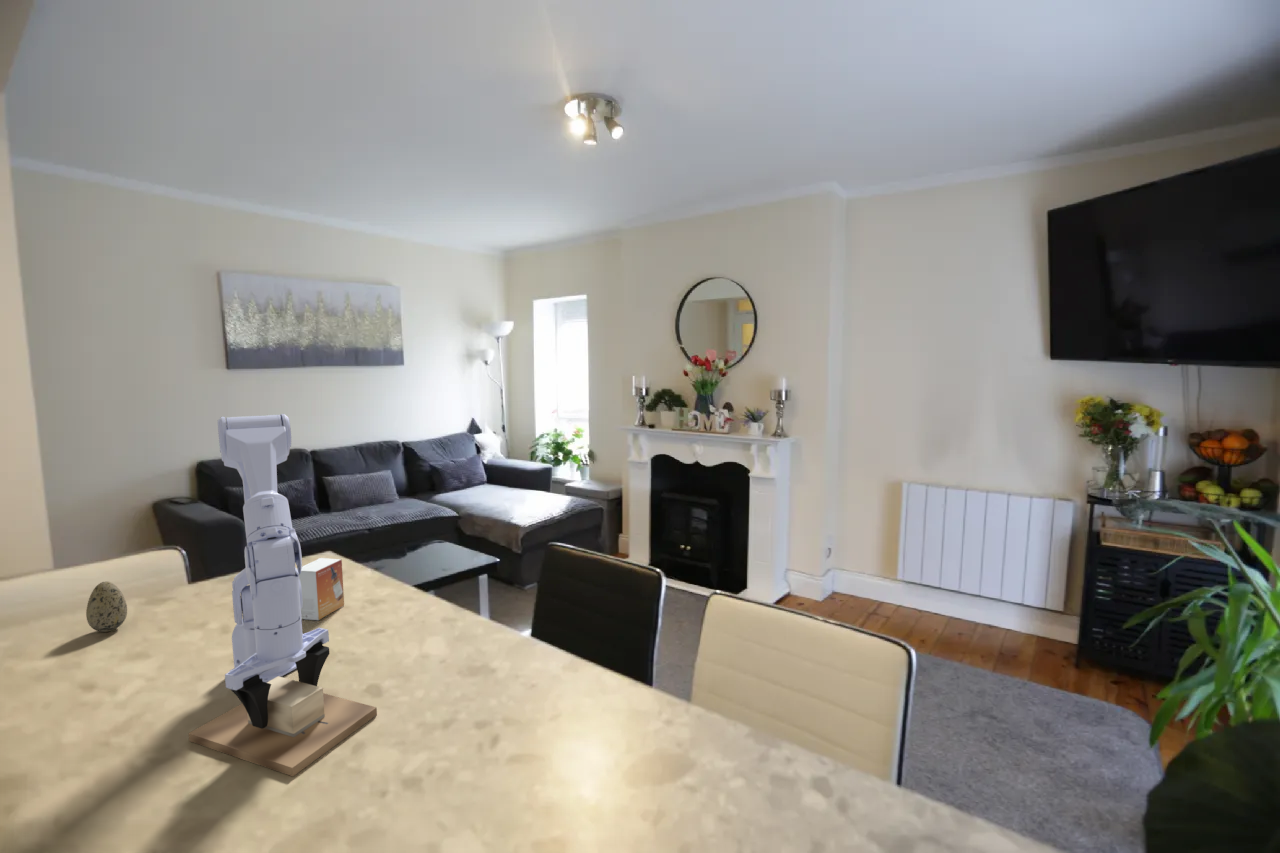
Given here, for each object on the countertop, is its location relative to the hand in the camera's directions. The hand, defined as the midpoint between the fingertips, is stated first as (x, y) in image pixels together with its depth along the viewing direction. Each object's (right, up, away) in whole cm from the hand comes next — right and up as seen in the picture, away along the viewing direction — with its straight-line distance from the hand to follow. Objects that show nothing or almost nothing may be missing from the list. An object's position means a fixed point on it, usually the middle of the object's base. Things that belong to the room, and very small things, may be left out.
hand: (285, 710), depth 85 cm
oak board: (0, -3, 0) cm, 3 cm away
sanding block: (0, -1, 0) cm, 1 cm away
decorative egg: (-54, +1, +31) cm, 62 cm away
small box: (-16, +2, +39) cm, 43 cm away
